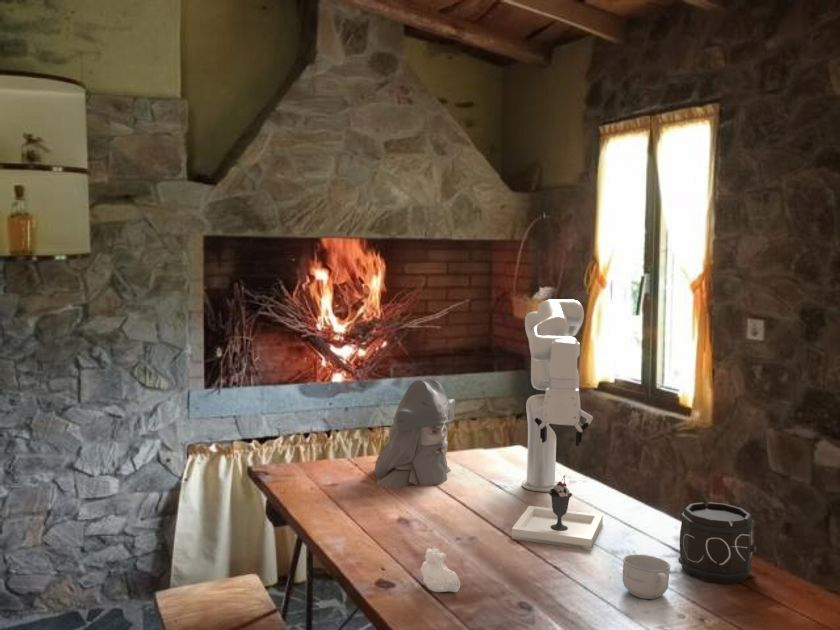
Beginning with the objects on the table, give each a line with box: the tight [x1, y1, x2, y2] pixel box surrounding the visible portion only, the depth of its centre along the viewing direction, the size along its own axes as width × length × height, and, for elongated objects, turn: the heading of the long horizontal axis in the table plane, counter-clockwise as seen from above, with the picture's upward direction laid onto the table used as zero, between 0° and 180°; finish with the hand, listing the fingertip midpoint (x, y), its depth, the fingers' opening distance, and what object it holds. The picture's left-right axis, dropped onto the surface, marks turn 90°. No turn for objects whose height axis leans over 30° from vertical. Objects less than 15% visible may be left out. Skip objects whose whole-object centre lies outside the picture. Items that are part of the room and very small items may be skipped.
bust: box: [374, 378, 456, 489], centre depth 292 cm, size 34×34×35 cm
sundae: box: [548, 475, 573, 531], centre depth 239 cm, size 7×7×15 cm
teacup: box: [622, 554, 671, 600], centre depth 196 cm, size 14×11×8 cm
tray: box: [511, 505, 604, 551], centre depth 240 cm, size 22×22×3 cm
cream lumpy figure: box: [419, 547, 461, 593], centre depth 198 cm, size 12×8×11 cm
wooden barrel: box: [678, 501, 757, 586], centre depth 211 cm, size 18×18×16 cm
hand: (561, 443), depth 238 cm, fingers open, 9 cm apart
